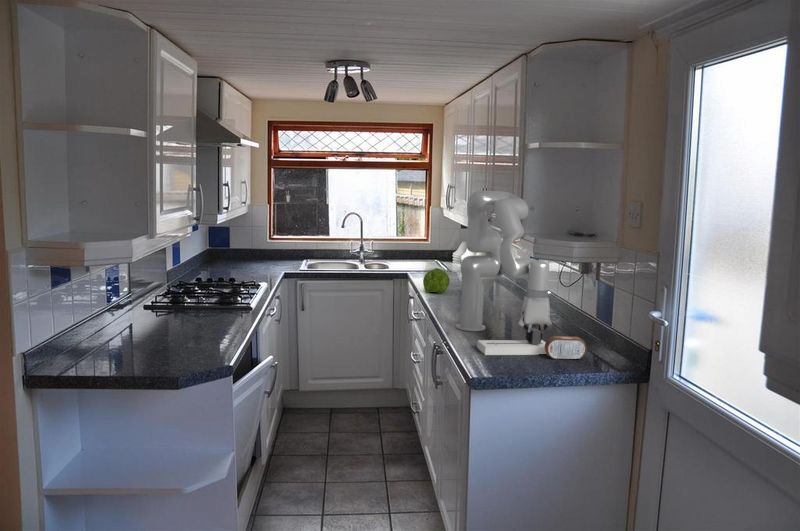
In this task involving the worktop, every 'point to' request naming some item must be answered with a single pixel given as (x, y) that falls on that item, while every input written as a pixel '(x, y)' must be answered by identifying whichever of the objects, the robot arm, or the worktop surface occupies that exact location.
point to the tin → (565, 347)
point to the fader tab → (535, 336)
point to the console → (510, 347)
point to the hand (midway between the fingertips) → (533, 341)
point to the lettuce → (436, 281)
